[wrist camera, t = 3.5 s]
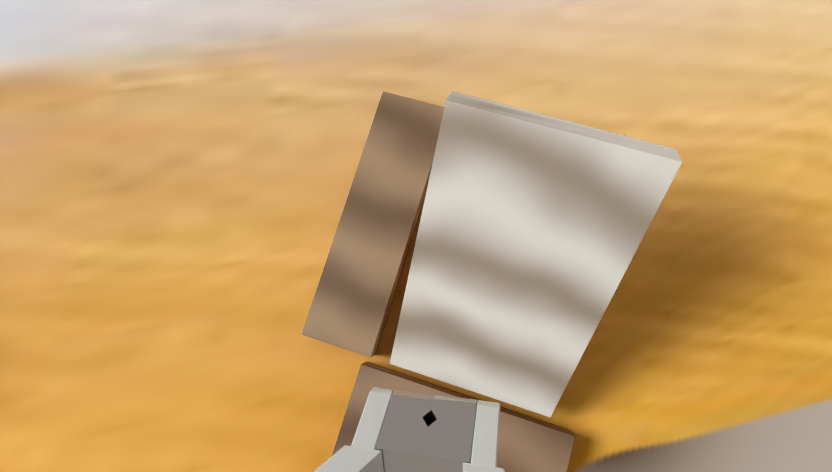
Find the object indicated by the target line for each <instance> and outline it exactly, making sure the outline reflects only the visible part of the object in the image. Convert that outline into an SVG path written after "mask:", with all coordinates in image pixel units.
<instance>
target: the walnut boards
mask: <svg viewBox="0 0 832 472" xmlns="http://www.w3.org/2000/svg"><path fill="white" fill-rule="evenodd" d="M443 112H444V107H440V106H436V105H433V104H429V103H425V102H421V101H417V100H414V99H410V98H406V97H402V96H398V95H395V94H391V93H387V92H383V93H382V96H381V99H380V102H379V105H378V108H377V111H376V114H375V117H374V120H373V123H372V126H371V129H370V132H369V135H368V138H367V141H366V144H365V147H364V150H363V153H362V156H361V159H360V162H359V165H358V168H357V171H356V174H355V177H354V180H353V183H352V186H351V189H350V192H349V195H348V198H347V201H346V204H345V207H344V210H343V213H342V216H341V219H340V222H339V225H338V228H337V231H336V234H335V237H334V240H333V243H332V246H331V249H330V252H329V255H328V258H327V261H326V264H325V267H324V270H323V273H322V276H321V279H320V282H319V285H318V288H317V291H316V294H315V297H314V300H313V302H312V305H311V308H310V311H309V314H308V317H307V320H306V323H305V326H304V329H303V332H302V335H305V336H308V337H311V338H314V339H317V340H320V341H323V342H326V343H329V344H332V345H335V346H338V347H341V348H344V349H347V350H350V351H353V352H356V353H359V354H362V355H365V356H368V357H372V356H374V355H375V353H376V350H377V347H378V344H379V340H380V337H381V334H382V331H383V328H384V325H385V321H386V318H387V315H388V312H389V309H390V306H391V302H392V299H393V296H394V293H395V290H396V287H397V283H398V280H399V277H400V274H401V271H402V268H403V265H404V261H405V258H406V255H407V252H408V249H409V246H410V242H411V239H412V236H413V233H414V230H415V227H416V223H417V220H418V217H419V214H420V211H421V208H422V204H423V201H424V198H425V195H426V191H427V187H428V182H429V177H430V173H431V168H432V163H433V159H434V154H435V149H436V145H437V140H438V135H439V131H440V126H441V121H442V117H443ZM373 387H378V388H385V389H393V390H400V391H407V392H413V393H420V394H427V395H433V396H435V395H440V396H449V397H458V398H467V399H476V398H473V397H470V396H467V395H464V394H461V393H458V392H455V391H452V390H449V389H446V388H443V387H440V386H437V385H434V384H431V383H428V382H425V381H422V380H419V379H416V378H413V377H410V376H407V375H404V374H401V373H398V372H395V371H392V370H389V369H386V368H383V367H380V366H378V365H375V364H372V363H369V362H365V363H363V364H361V367H360V370H359V373H358V376H357V379H356V382H355V385H354V389H353V392H352V395H351V398H350V401H349V404H348V407H347V411H346V414H345V417H344V420H343V423H342V426H341V429H340V433H339V436H338V439H337V442H336V445H335V448H334V451H333V455H334V454H335V453H336V452H337V451H339V450H340V449H341V448H342V447H343V446H345V445H348V446H351V445H352V442H353V439H354V436H355V433H356V430H357V427H358V424H359V421H360V418H361V416H362V413H363V410H364V407H365V404H366V401H367V398H368V395H369V392H370V391H371V390H372V388H373ZM476 400H477V403H478V400H479V399H476ZM481 401H482V400H481ZM574 441H575V436H574V435H573V433H572V432H571V431H570V430H568V429H565V428H562V427H559V426H556V425H553V424H550V423H547V422H544V421H541V420H538V419H535V418H532V417H529V416H526V415H523V414H520V413H517V412H514V411H511V410H508V409H505V408H502V407H500V420H499V438H498V455H497V467H498V468H503V469H504V470H505V472H566V471H567V467H568V463H569V460H570V456H571V452H572V448H573V444H574ZM333 455H332V456H333Z"/></svg>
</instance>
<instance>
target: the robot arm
mask: <svg viewBox="0 0 832 472" xmlns="http://www.w3.org/2000/svg"><path fill="white" fill-rule="evenodd" d="M499 420H500V403H497V402H489V401H481V400H478V403H477V400H476V399H467V398H458V397H449V396H440V395H435V396H433V395H427V394H420V393H413V392H407V391H400V390H393V389H385V388H378V387H373V388H372V390H371V391H370V392H369V395H368V398H367V401H366V404H365V407H364V410H363V413H362V416H361V418H360V421H359V424H358V427H357V430H356V433H355V436H354V439H353V442H352V445H351V446H348V445H345V446H343V447H342V448H341V449H340V450H339V451H337V452H336V453H335V454H334V455H333V456H332V457H330V458H329V459H328V460H327V461H326V462H324V463H323V464H322V465H321V466H320V467H318V468H317V469H316V470H315V471H314V472H505V470H504V469H503V468H498V467H497V455H498V438H499Z"/></svg>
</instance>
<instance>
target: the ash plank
mask: <svg viewBox="0 0 832 472" xmlns="http://www.w3.org/2000/svg"><path fill="white" fill-rule="evenodd" d="M681 163H682V161H681V159H680V157H679V155H678V153H677V151H676V149H674V148H670V147H666V146H662V145H659V144H655V143H651V142H647V141H643V140H639V139H635V138H632V137H628V136H624V135H620V134H616V133H612V132H608V131H605V130H601V129H597V128H593V127H589V126H585V125H581V124H578V123H574V122H570V121H566V120H562V119H558V118H554V117H551V116H547V115H543V114H539V113H535V112H531V111H527V110H524V109H520V108H516V107H512V106H508V105H504V104H500V103H497V102H493V101H489V100H485V99H481V98H477V97H473V96H470V95H466V94H462V93H458V92H454V91H453V92H452V93H451V94H450V96H449V97H448V98H447V99H446V103H445V107H444V112H443V117H442V121H441V126H440V131H439V135H438V140H437V145H436V149H435V154H434V159H433V163H432V168H431V173H430V177H429V182H428V187H427V191H426V196H425V201H424V205H423V210H422V215H421V219H420V224H419V229H418V233H417V238H416V243H415V247H414V252H413V257H412V261H411V266H410V271H409V275H408V280H407V285H406V289H405V294H404V299H403V303H402V308H401V313H400V317H399V322H398V327H397V331H396V336H395V341H394V345H393V350H392V355H391V359H390V364H392V365H395V366H398V367H401V368H404V369H407V370H410V371H413V372H416V373H419V374H422V375H425V376H428V377H431V378H434V379H437V380H440V381H443V382H446V383H449V384H452V385H455V386H458V387H461V388H464V389H467V390H470V391H473V392H476V393H479V394H482V395H485V396H488V397H491V398H494V399H497V400H500V401H503V402H506V403H509V404H512V405H515V406H518V407H521V408H524V409H527V410H530V411H533V412H536V413H539V414H542V415H545V416H548V417H551V415H552V413H553V411H554V409H555V407H556V405H557V403H558V401H559V400H560V398H561V396H562V394H563V392H564V390H565V388H566V386H567V384H568V382H569V380H570V378H571V376H572V374H573V372H574V370H575V369H576V367H577V365H578V363H579V361H580V359H581V357H582V355H583V353H584V351H585V349H586V347H587V345H588V343H589V341H590V339H591V337H592V336H593V334H594V332H595V330H596V328H597V326H598V324H599V322H600V320H601V318H602V316H603V314H604V312H605V310H606V308H607V306H608V305H609V303H610V301H611V299H612V297H613V295H614V293H615V291H616V289H617V287H618V285H619V283H620V281H621V279H622V277H623V275H624V274H625V272H626V270H627V268H628V266H629V264H630V262H631V260H632V258H633V256H634V254H635V252H636V250H637V248H638V246H639V244H640V243H641V241H642V239H643V237H644V235H645V233H646V231H647V229H648V227H649V225H650V223H651V221H652V219H653V217H654V215H655V213H656V212H657V210H658V208H659V206H660V204H661V202H662V200H663V198H664V196H665V194H666V192H667V190H668V188H669V186H670V184H671V182H672V181H673V179H674V177H675V175H676V173H677V171H678V169H679V167H680V165H681Z"/></svg>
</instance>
